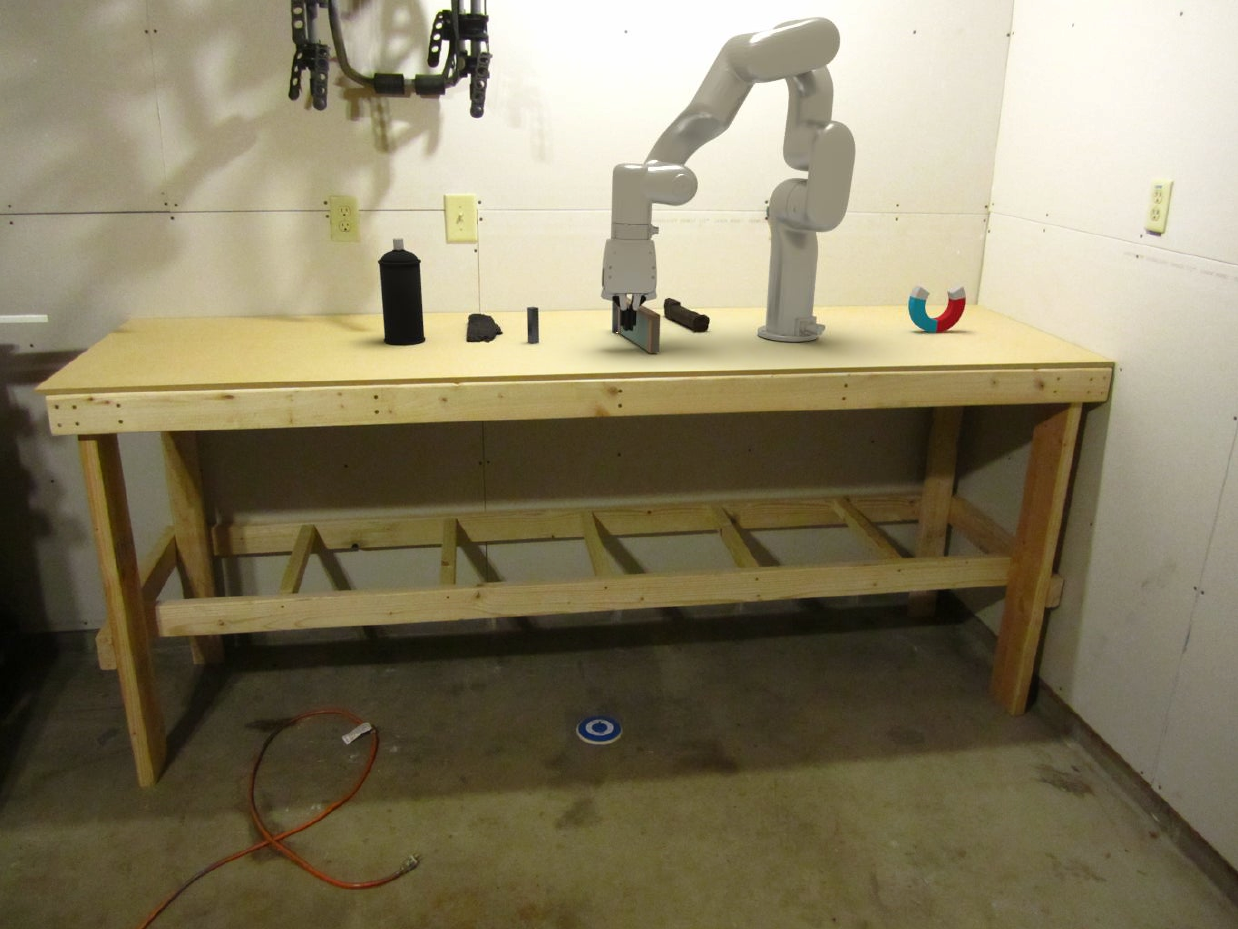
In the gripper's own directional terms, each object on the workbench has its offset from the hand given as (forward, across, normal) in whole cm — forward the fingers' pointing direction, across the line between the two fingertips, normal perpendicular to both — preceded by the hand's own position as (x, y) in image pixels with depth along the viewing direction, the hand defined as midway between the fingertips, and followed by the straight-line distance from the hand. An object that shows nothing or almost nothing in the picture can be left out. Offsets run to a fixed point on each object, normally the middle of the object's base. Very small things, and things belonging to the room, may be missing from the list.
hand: (627, 329), depth 182 cm
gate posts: (+4, +8, -12) cm, 15 cm away
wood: (+5, +27, -20) cm, 34 cm away
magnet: (+3, -69, -9) cm, 69 cm away
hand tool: (+4, -16, -23) cm, 28 cm away
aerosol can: (+5, +43, -12) cm, 45 cm away
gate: (+4, -3, -5) cm, 7 cm away
